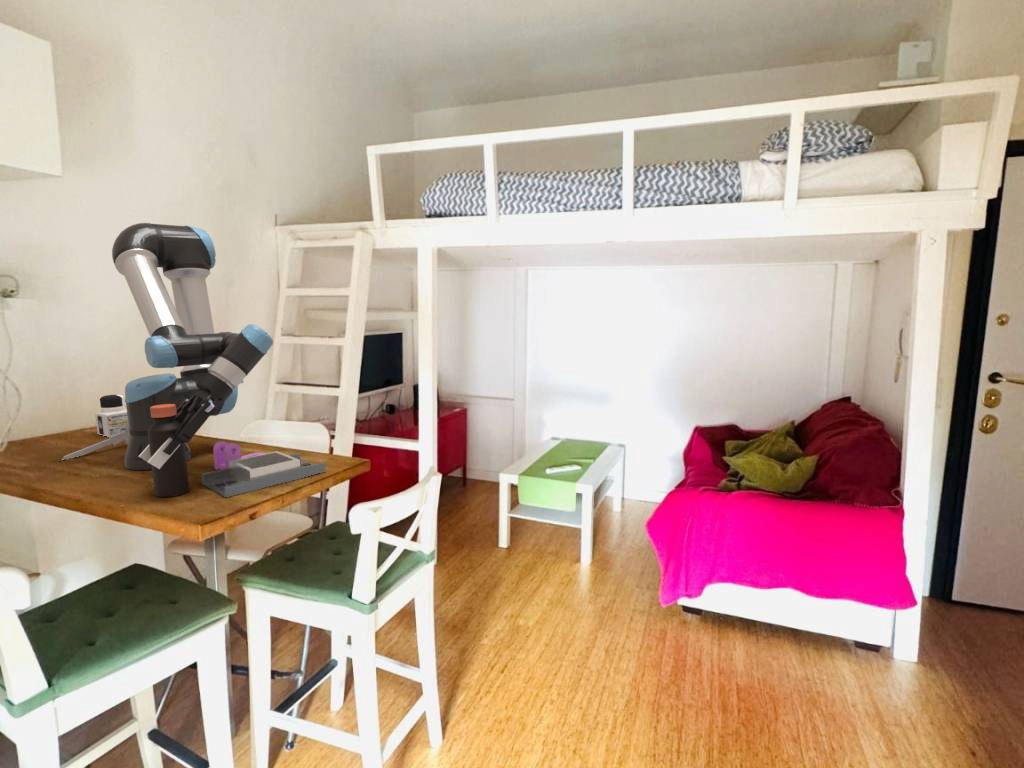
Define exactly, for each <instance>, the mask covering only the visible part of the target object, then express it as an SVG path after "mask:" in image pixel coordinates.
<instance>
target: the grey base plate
mask: <svg viewBox="0 0 1024 768" xmlns="http://www.w3.org/2000/svg"><path fill="white" fill-rule="evenodd" d="M264 453H265V452H264ZM325 471H326V463H325V462H322V461H321V462H318V463H312V462H309V461H306V460H303V459H301V453H299V452H296V453H292V454H286V453H283V452H281V451H277V450H275V451H271V452H266V453H265V454H261V455H256V456H251V457H246V458H242V459H237V460H232V461H229V468H227V469H223V470H218V469H217V470H214V471H210V472H204V473H201V483H202V485H203V486H205V487H206V488H209V489H210V490H211V491H213V492H214V493H217V494H218V493H219V494H218V495H220V496H222V497H223V496H224V498H225V497H227V498H230V496H231V497H235V496H239V495H242V493H243V494H246V492H247V493H250V492H254V491H258V490H262V488H263V489H266V488H270V487H274V486H277V484H278V485H282V484H285V482H286V483H290V482H294V481H297V479H298V480H301V478H302V479H305V478H304V477H306V478H308V476H310V477H312V476H311V475H314V476H316V475H315V474H318V473H322V472H325ZM322 474H323V473H322ZM318 475H319V474H318ZM293 480H294V481H293ZM281 483H282V484H281ZM273 485H274V486H273ZM269 486H270V487H269ZM265 487H266V488H265ZM238 494H239V495H238ZM234 495H235V496H234Z"/></svg>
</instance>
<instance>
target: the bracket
mask: <svg viewBox="0 0 1024 768" xmlns="http://www.w3.org/2000/svg"><path fill="white" fill-rule="evenodd" d="M212 450H213V462H214V469H215V470H218V469H220V470H223V469H227V468H229V461H232V460H237V459H242V458H246V457H251V456H256V455H261V454H265V452H254V453H249V454H246V455H242V452H241V446H240V445H239V444H238V443H232V442H231V443H228V442H225V441H217V442H216V443H215V444H214V445H213V449H212Z"/></svg>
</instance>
